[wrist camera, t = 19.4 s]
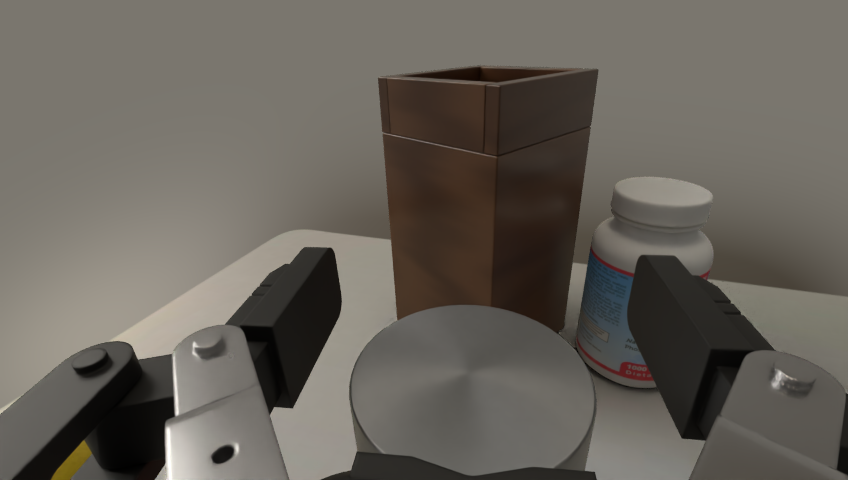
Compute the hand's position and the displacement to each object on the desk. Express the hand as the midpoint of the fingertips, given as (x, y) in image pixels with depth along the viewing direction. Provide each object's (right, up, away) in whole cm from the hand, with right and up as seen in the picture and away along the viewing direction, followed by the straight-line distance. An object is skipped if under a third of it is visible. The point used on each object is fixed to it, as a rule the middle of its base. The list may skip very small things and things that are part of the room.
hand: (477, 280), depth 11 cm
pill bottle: (+11, -7, +16) cm, 21 cm away
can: (0, -12, +4) cm, 13 cm away
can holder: (+3, -5, +19) cm, 20 cm away
